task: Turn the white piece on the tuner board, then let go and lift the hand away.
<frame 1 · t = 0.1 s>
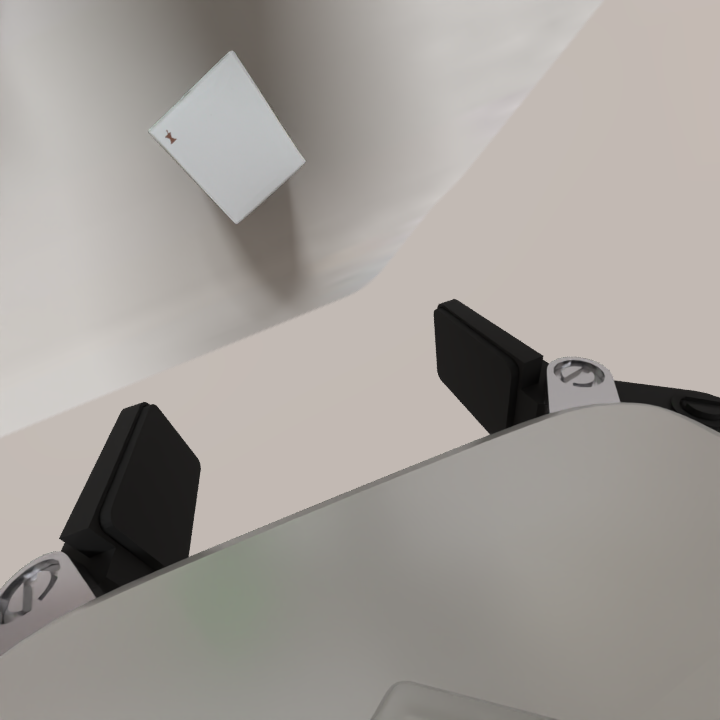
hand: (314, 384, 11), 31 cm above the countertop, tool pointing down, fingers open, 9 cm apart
supplement box: (235, 151, 32), on the countertop
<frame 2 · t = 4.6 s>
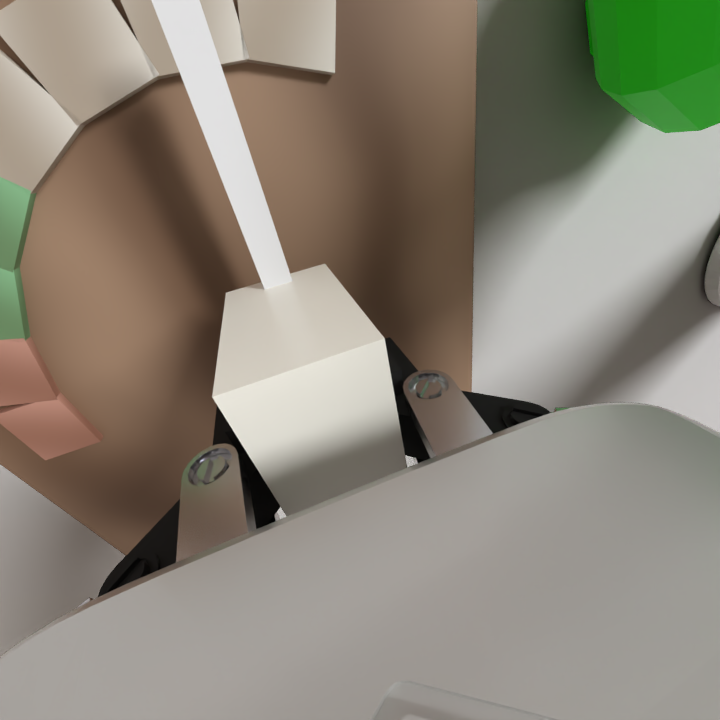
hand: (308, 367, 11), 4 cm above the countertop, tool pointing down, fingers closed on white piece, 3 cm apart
white piece: (288, 313, 8), point 6 cm above the countertop, hinge at 0.0°, touching gripper
tuner board: (213, 245, 12), on the countertop
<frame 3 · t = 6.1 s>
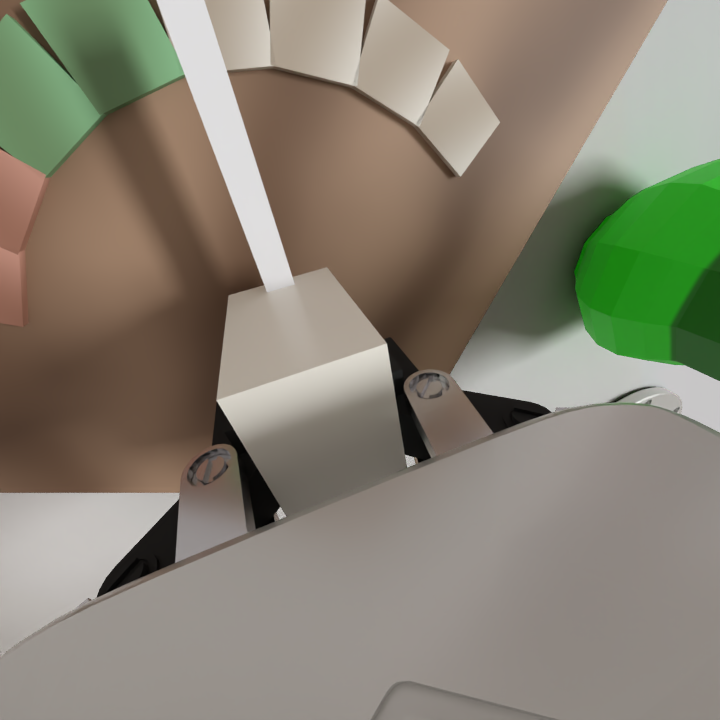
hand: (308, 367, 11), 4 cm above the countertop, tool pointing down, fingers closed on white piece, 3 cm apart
white piece: (290, 317, 8), point 6 cm above the countertop, hinge at 33.8°, touching gripper
plastic bottle: (608, 253, 19), on the countertop
tuner board: (274, 219, 13), on the countertop
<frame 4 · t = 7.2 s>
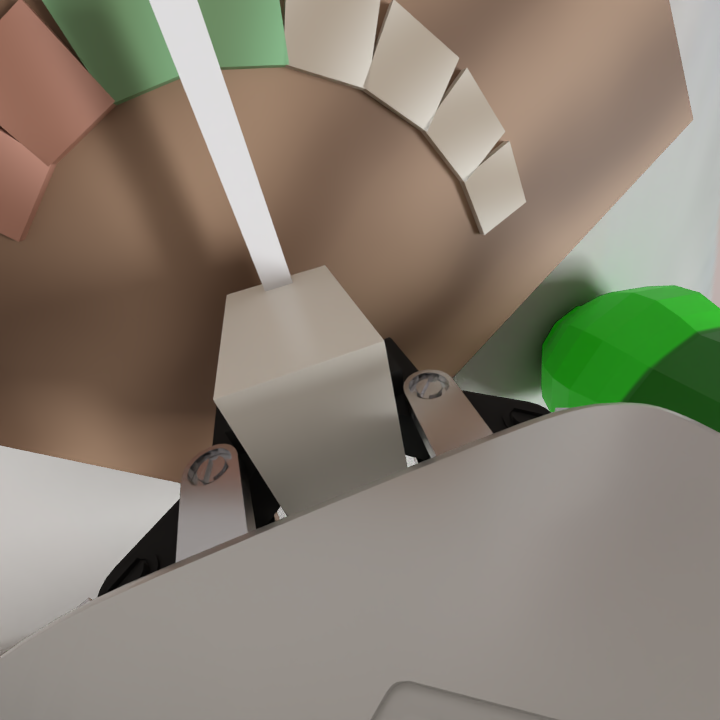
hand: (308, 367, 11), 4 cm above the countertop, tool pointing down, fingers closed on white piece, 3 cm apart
white piece: (288, 315, 8), point 6 cm above the countertop, hinge at 51.8°, touching gripper
plastic bottle: (570, 337, 22), on the countertop
tuner board: (307, 220, 13), on the countertop
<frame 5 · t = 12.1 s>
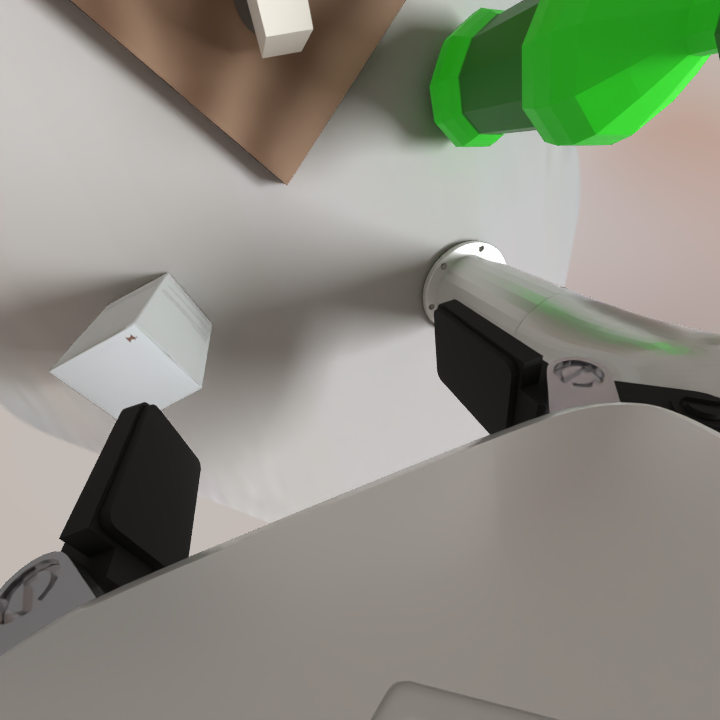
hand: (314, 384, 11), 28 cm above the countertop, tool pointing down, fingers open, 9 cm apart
plastic bottle: (458, 92, 32), on the countertop
supplement box: (164, 315, 35), on the countertop
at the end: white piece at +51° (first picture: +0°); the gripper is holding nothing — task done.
